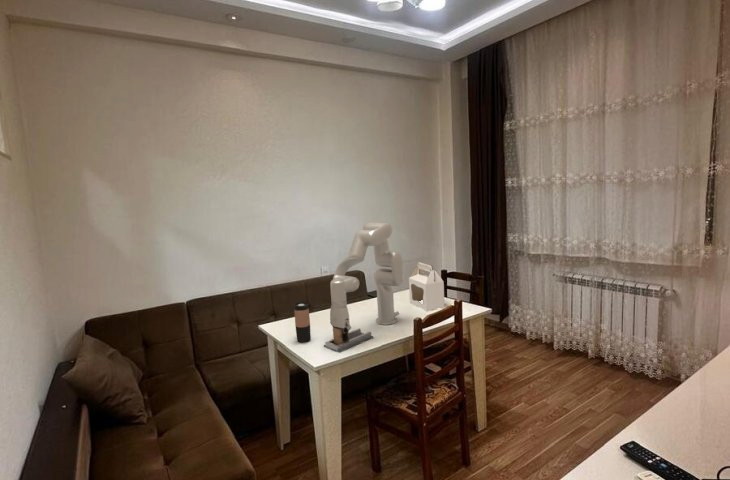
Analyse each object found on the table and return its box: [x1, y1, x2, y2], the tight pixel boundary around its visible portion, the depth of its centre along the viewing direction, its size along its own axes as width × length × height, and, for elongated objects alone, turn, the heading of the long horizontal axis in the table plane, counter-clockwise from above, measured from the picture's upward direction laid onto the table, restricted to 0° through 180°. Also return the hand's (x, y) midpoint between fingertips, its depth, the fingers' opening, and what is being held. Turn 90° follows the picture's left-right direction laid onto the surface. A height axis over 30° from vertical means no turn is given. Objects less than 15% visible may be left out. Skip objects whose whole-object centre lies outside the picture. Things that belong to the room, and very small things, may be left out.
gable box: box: [408, 261, 445, 312], centre depth 253 cm, size 22×13×28 cm, turn 22°
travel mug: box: [293, 301, 312, 344], centre depth 204 cm, size 8×8×20 cm
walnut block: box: [332, 327, 350, 345], centre depth 196 cm, size 6×5×8 cm
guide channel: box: [323, 328, 374, 354], centre depth 200 cm, size 24×12×3 cm, turn 136°
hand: (341, 338), depth 196 cm, fingers closed on walnut block, 5 cm apart
